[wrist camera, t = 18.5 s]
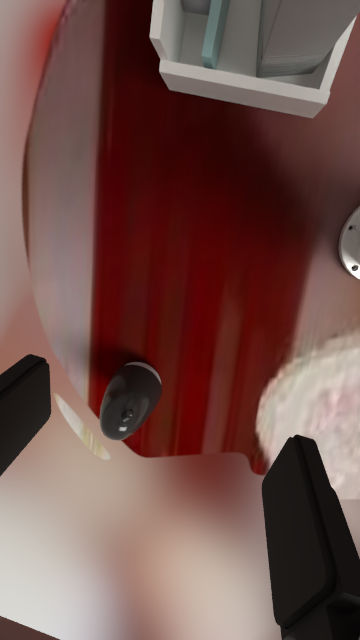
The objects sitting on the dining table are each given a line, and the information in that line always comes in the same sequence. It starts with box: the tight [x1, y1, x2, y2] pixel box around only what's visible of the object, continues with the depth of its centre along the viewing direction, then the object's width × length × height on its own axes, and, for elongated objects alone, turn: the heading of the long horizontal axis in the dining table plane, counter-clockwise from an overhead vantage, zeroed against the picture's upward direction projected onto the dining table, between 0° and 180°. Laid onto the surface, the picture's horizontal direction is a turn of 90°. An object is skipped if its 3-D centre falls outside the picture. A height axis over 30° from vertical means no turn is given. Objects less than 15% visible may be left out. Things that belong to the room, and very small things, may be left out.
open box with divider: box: [149, 0, 357, 119], centre depth 24 cm, size 18×13×9 cm
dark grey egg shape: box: [100, 362, 162, 440], centre depth 45 cm, size 10×10×15 cm
